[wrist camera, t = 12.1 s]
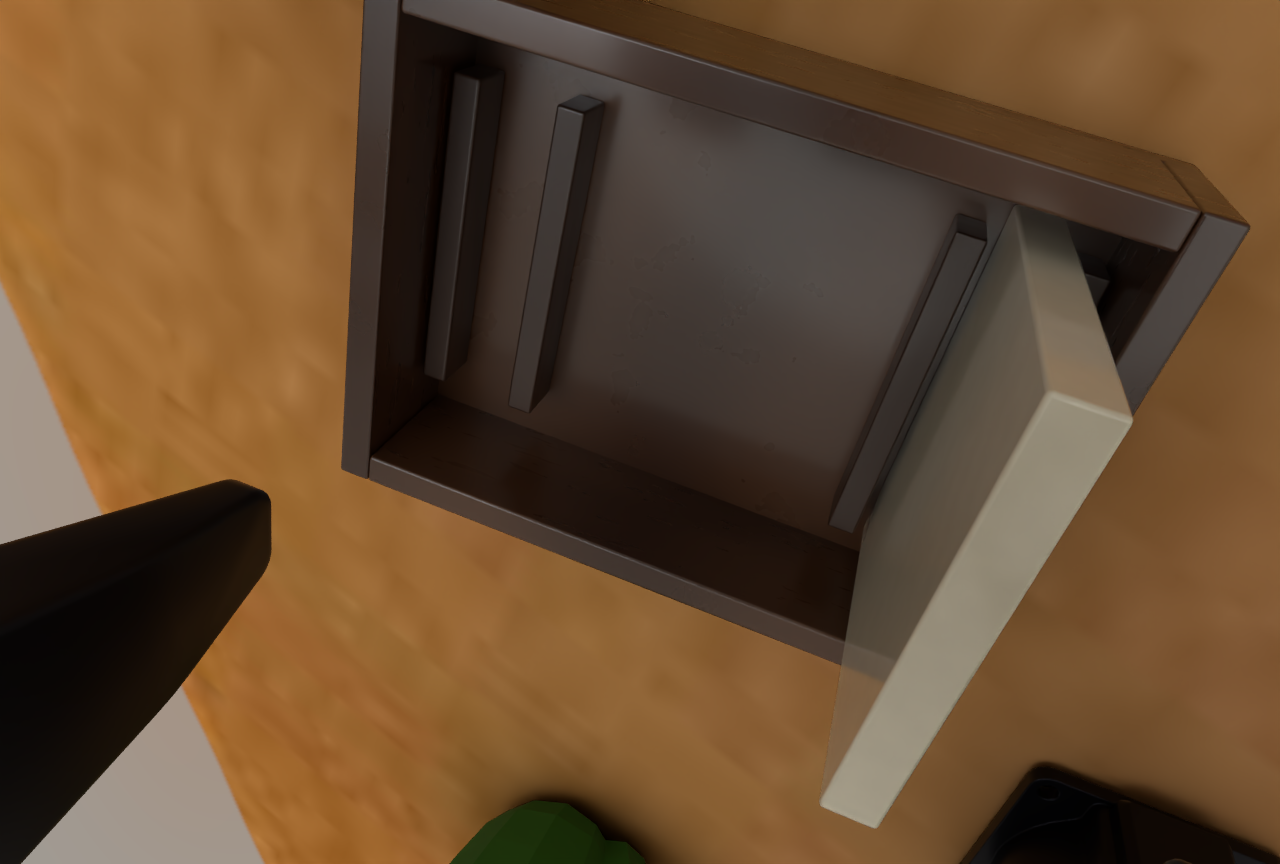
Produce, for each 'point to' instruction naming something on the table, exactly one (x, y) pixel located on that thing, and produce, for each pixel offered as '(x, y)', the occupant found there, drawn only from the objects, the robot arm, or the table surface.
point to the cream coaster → (972, 506)
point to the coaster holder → (701, 284)
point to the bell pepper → (544, 839)
